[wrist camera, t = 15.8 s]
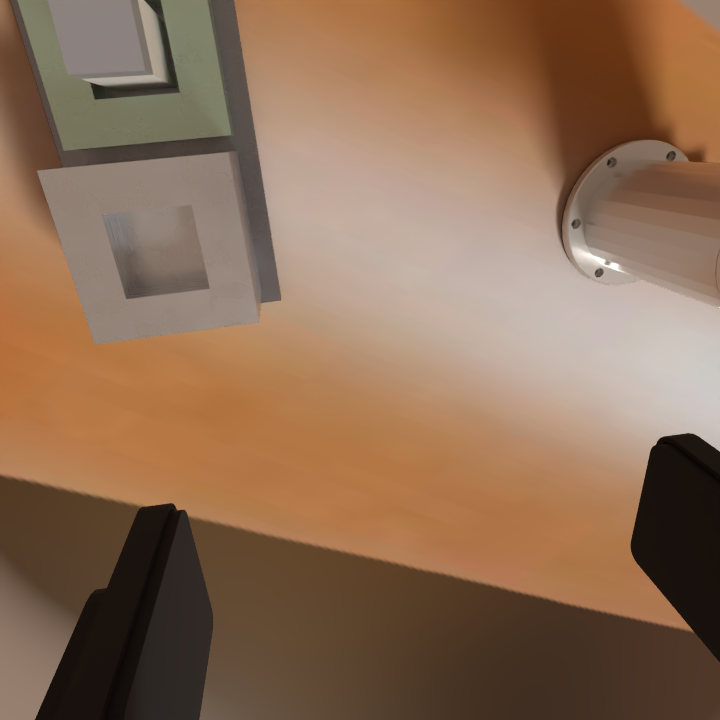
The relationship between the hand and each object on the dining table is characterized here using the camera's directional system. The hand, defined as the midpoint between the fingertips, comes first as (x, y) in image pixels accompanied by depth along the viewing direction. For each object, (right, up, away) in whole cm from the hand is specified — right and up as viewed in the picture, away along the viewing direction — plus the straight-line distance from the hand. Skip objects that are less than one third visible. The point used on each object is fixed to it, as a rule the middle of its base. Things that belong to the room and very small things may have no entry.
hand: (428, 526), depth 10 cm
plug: (-17, +24, +24) cm, 38 cm away
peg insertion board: (-16, +19, +27) cm, 37 cm away
